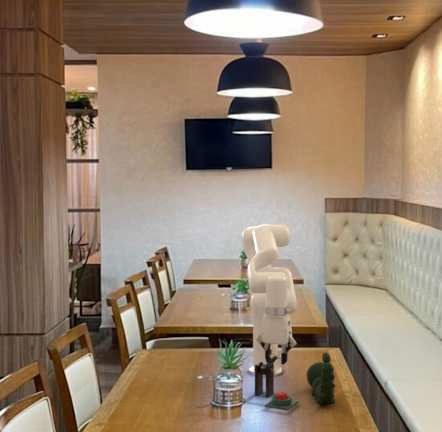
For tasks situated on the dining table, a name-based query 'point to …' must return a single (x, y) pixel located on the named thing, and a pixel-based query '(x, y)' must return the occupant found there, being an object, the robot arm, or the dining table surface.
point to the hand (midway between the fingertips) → (276, 362)
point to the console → (281, 403)
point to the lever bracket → (268, 380)
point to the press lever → (274, 358)
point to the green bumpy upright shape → (322, 380)
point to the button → (281, 395)
